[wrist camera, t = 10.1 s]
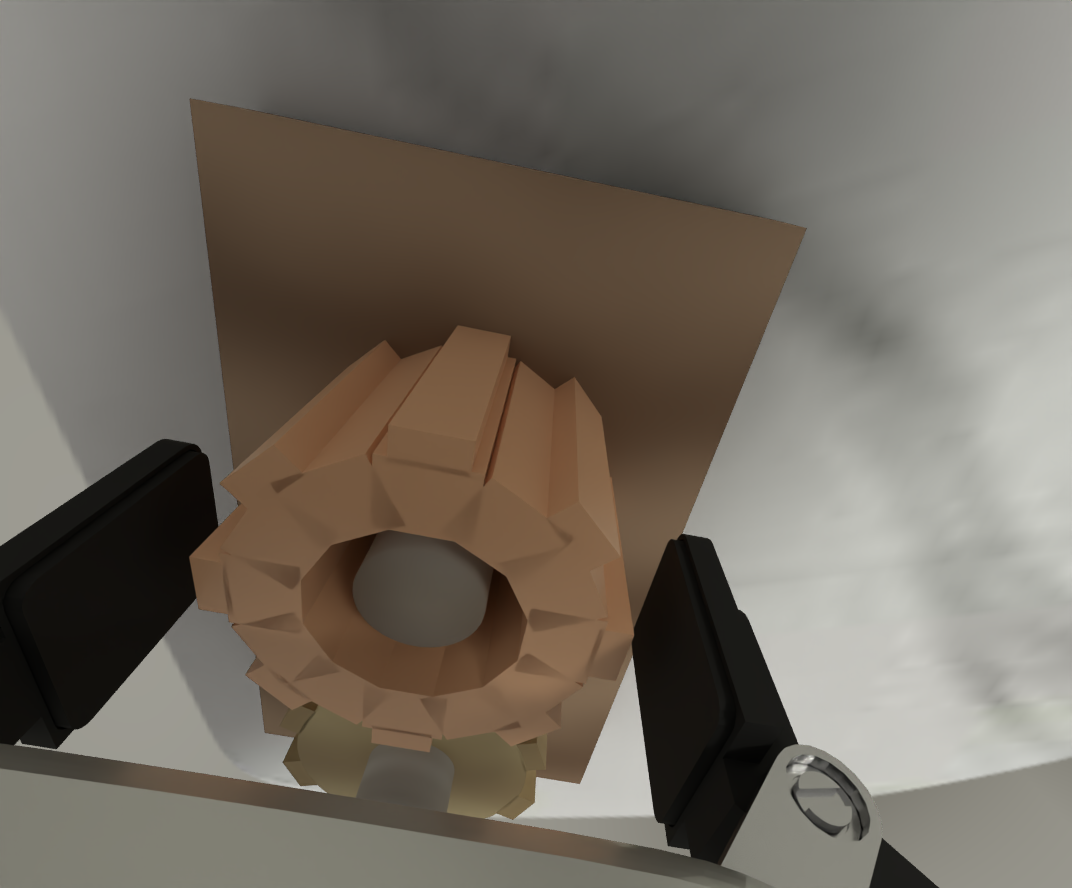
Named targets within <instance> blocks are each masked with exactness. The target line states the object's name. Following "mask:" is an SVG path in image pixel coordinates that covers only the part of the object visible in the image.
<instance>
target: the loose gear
mask: <svg viewBox="0 0 1072 888" xmlns="http://www.w3.org/2000/svg"><path fill="white" fill-rule="evenodd" d="M510 339H511V336H509V335H504V334H499V333H494V332H489V331H484V330H479V329H474V328H469V327H464V326H459V325H458V326H457V327H456V329H455V330H454V331H453V333H452V334H451V336H450V337H449V339H448V340H447V341H446V343H445V344H444V346H443V347H442V345H441V346H438V347H435V348H432V349H429V350H426V351H423V352H421V353H418V354H415V355H412V356H409V357H406V358H403V359H401V358H400V357H399V356H398V355H397V354H396V352H395V351H394V350H393V349H392V347H391V346H390V345H389V344H388V343H387V341H386V340H384V341H383V342H381V343H380V344H379V345H377V346H376V347H374V348H373V349H372V350H370V351H369V352H368V353H366V354H365V355H364V356H362V357H361V358H359V359H358V360H357V361H355V362H354V363H353V364H351V365H350V366H349V367H347V368H346V369H345V370H344V371H343V372H342V373H341V374H339V375H338V376H337V377H336V378H335V379H334V380H333V381H332V382H331V383H330V384H328V385H327V386H326V387H325V388H324V389H323V390H322V391H321V392H320V393H319V394H317V395H316V396H315V397H314V398H313V399H312V400H311V401H310V402H309V403H307V404H306V405H305V406H304V407H303V408H302V409H301V410H300V411H299V412H298V413H296V414H295V415H294V416H293V417H292V418H291V419H290V420H289V421H288V422H286V423H285V424H284V425H283V426H282V427H281V428H280V429H279V430H278V431H277V432H275V433H274V434H273V435H272V436H271V437H270V438H269V439H268V440H267V441H266V442H264V443H263V444H262V445H261V446H260V447H259V448H258V449H257V450H256V451H254V452H253V453H252V454H251V455H250V456H249V457H248V458H247V459H246V460H245V461H243V462H242V463H241V464H240V465H239V466H238V467H237V468H236V469H235V470H233V471H232V472H231V473H230V474H229V475H228V476H227V477H226V478H225V479H224V480H222V481H221V482H220V484H221V485H222V486H223V487H224V488H225V489H226V490H227V491H228V492H230V493H231V494H232V495H233V496H234V497H235V498H236V499H237V500H238V501H240V502H241V504H240V505H239V506H238V507H237V508H236V509H235V510H234V511H233V512H232V513H231V514H230V515H229V516H228V517H227V518H226V519H225V520H224V522H223V523H222V524H221V525H220V526H219V527H218V528H217V529H216V530H215V531H214V532H213V533H212V534H211V535H210V536H209V537H208V538H207V539H206V540H205V541H204V542H203V543H202V544H201V545H200V546H199V547H198V548H197V549H196V550H195V551H194V552H193V553H192V554H191V555H190V556H189V559H190V564H191V570H192V575H193V581H194V586H195V591H196V597H197V602H198V608H199V609H200V610H206V611H212V612H218V613H224V614H228V619H229V622H231V623H234V624H233V625H232V626H231V627H232V628H233V629H234V631H235V632H236V633H237V634H238V635H239V636H240V637H241V639H242V640H243V641H244V642H245V643H246V644H247V646H248V647H249V648H250V649H251V650H252V651H253V653H254V654H255V655H256V656H257V657H256V659H255V660H254V662H253V663H252V665H251V666H250V668H249V670H248V671H247V673H246V674H245V675H246V676H247V677H248V678H250V679H251V680H252V681H254V682H255V683H256V684H258V685H259V686H260V687H262V688H263V689H264V690H266V691H267V692H268V693H270V694H271V695H272V696H274V697H275V698H276V699H278V700H279V701H280V702H282V703H283V704H284V705H286V706H287V707H288V708H290V709H291V710H293V709H296V708H298V707H300V706H302V705H304V704H306V703H308V702H311V701H312V702H314V703H316V704H318V705H319V706H321V707H323V708H325V709H327V710H329V711H331V712H333V713H335V714H337V715H339V716H341V717H343V718H345V719H346V720H348V721H350V722H352V723H354V724H356V725H357V724H358V723H360V722H361V721H362V727H367V728H372V740H371V743H375V744H381V745H387V746H393V747H399V748H405V749H412V750H418V751H424V752H430V748H431V744H432V740H433V738H434V739H440V740H442V735H444V736H445V738H446V739H447V740H449V739H455V738H461V737H467V736H473V735H479V734H485V733H491V732H495V733H497V734H498V735H499V736H500V737H501V738H502V739H503V740H504V741H505V742H507V743H508V744H509V745H510V746H514V745H516V744H519V743H522V742H525V741H527V740H530V739H533V738H536V737H538V736H541V735H544V734H547V733H549V732H552V731H555V730H558V729H560V728H561V702H562V701H563V700H565V699H566V698H568V697H569V696H571V695H572V694H574V693H575V692H577V691H578V690H579V689H581V688H582V687H583V683H585V684H586V682H587V679H588V677H594V678H600V679H606V680H612V681H616V679H617V677H618V674H619V672H620V669H621V667H622V665H623V662H624V660H625V657H626V655H627V652H628V650H629V647H630V645H631V642H632V640H633V637H634V630H633V623H632V616H631V609H630V603H629V596H628V589H627V582H626V575H625V568H624V561H623V554H622V547H621V540H620V533H619V526H618V519H617V512H616V505H615V498H614V491H613V484H612V477H610V474H609V467H608V460H607V453H606V445H605V438H604V431H603V424H602V417H601V415H600V414H599V412H598V411H597V409H596V408H595V406H594V405H593V403H592V402H591V400H590V399H589V398H588V396H587V395H586V393H585V392H584V390H583V389H582V387H581V386H580V384H579V383H578V381H577V380H576V378H575V377H574V378H572V379H571V380H569V381H567V382H566V383H564V384H562V385H561V386H559V387H557V388H556V389H554V388H553V387H551V386H550V385H549V384H548V383H547V382H545V381H544V380H543V379H542V378H541V377H539V376H538V375H537V374H536V373H535V372H533V371H532V370H531V369H530V368H529V367H527V366H526V365H525V364H524V363H523V362H521V361H520V362H519V363H518V364H517V365H516V367H515V363H516V359H515V358H510V357H508V351H509V345H510ZM386 530H393V531H399V532H404V533H410V534H415V535H421V536H426V537H432V538H437V539H443V540H448V541H454V542H456V543H457V544H459V545H460V546H462V547H463V548H465V549H466V550H468V551H469V552H471V553H472V554H474V555H475V556H477V557H478V558H480V559H481V560H483V561H484V562H486V563H487V564H489V565H490V566H492V567H493V573H492V578H491V584H490V589H489V594H488V600H487V605H486V611H485V615H484V618H483V620H482V622H481V624H480V626H479V627H478V628H477V630H476V631H475V632H474V633H473V634H471V635H470V636H469V637H467V638H466V639H464V640H462V641H460V642H457V643H455V644H451V645H448V646H442V647H418V646H412V645H407V644H404V643H400V642H398V641H395V640H393V639H390V638H388V637H386V636H385V635H383V634H381V633H380V632H378V631H377V630H375V629H374V628H373V627H372V626H370V625H369V624H368V623H367V622H366V621H365V619H364V618H363V617H362V616H361V614H360V612H359V611H358V609H357V607H356V605H355V602H354V598H353V591H352V589H353V582H354V578H355V576H356V574H357V572H358V570H359V568H360V566H361V564H362V562H363V560H364V559H365V557H366V555H367V553H368V551H369V549H370V547H371V545H372V543H373V541H374V539H375V537H376V535H377V534H378V532H382V531H386Z"/></svg>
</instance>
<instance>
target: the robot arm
mask: <svg viewBox="0 0 1072 888" xmlns="http://www.w3.org/2000/svg"><path fill="white" fill-rule="evenodd" d="M217 528H218V520H217V513H216V506H215V500H214V493H213V486H212V479H211V472H210V465H209V460H208V457H207V455H206V454H204V453H202V452H201V449H200V448H199V447H198V446H197V445H195V444H191V443H186V442H180V441H175V440H169V439H162V440H160V441H157V442H156V443H154V444H153V445H151V446H150V447H148V448H147V449H145V450H144V451H142V452H141V453H139V454H138V455H136V456H135V457H133V458H132V459H130V460H129V461H127V462H126V463H124V464H123V465H121V466H120V467H118V468H117V469H115V470H114V471H112V472H111V473H109V474H108V475H106V476H105V477H103V478H102V479H100V480H99V481H97V482H96V483H94V484H93V485H91V486H90V487H88V488H87V489H85V490H84V491H83V492H81V493H79V494H78V495H76V496H75V497H73V498H72V499H70V500H69V501H67V502H66V503H64V504H63V505H61V506H60V507H58V508H57V509H55V510H54V511H53V512H51V513H49V514H48V515H46V516H45V517H44V518H42V519H40V520H39V521H37V522H36V523H34V524H33V525H31V526H30V527H28V528H27V529H25V530H24V531H22V532H21V533H19V534H18V535H16V536H15V537H13V538H12V539H10V540H9V541H7V542H6V543H4V544H3V545H2V546H0V888H939V887H938V886H936V885H935V884H934V883H933V882H932V881H931V880H929V879H928V878H927V877H926V876H925V875H924V874H923V873H921V872H920V871H919V870H918V869H917V868H916V867H915V866H913V865H912V864H911V863H910V862H909V861H908V860H907V859H905V858H904V857H903V856H902V855H901V854H900V853H898V852H897V851H896V850H895V849H894V848H893V847H892V846H891V845H889V844H888V843H887V842H886V841H885V840H884V839H883V838H882V822H881V819H880V815H879V812H878V808H877V806H876V804H875V802H874V800H873V799H872V797H871V795H870V793H869V791H868V790H867V788H866V787H865V786H864V785H863V783H862V782H861V781H860V780H859V779H858V777H857V776H856V775H855V774H854V773H853V772H852V771H851V770H850V769H849V768H848V767H846V766H845V765H844V764H843V763H842V762H841V761H839V760H838V759H836V758H835V757H833V756H831V755H830V754H828V753H827V752H825V751H823V750H820V749H817V748H815V747H812V746H809V745H799V744H798V742H797V739H796V737H795V734H794V732H793V729H792V727H791V724H790V722H789V719H788V717H787V714H786V712H785V709H784V707H783V704H782V702H781V699H780V697H779V694H778V692H777V690H776V687H775V685H774V682H773V680H772V677H771V675H770V672H769V670H768V667H767V665H766V662H765V660H764V657H763V655H762V652H761V650H760V647H759V645H758V642H757V640H756V637H755V635H754V632H753V630H752V627H751V625H750V622H749V620H748V618H747V616H746V615H745V614H744V613H743V612H742V611H741V610H738V608H737V605H736V603H735V600H734V598H733V595H732V592H731V590H730V587H729V585H728V582H727V580H726V577H725V574H724V572H723V569H722V567H721V564H720V561H719V559H718V556H717V554H716V551H715V549H714V546H713V543H712V542H711V540H710V539H708V538H703V537H697V536H692V535H686V534H681V535H680V536H679V537H678V538H677V540H674V539H670V540H669V541H668V543H667V545H666V548H665V551H664V553H663V556H662V558H661V561H660V563H659V566H658V568H657V571H656V573H655V576H654V578H653V581H652V583H651V586H650V588H649V591H648V594H647V596H646V599H645V601H644V604H643V606H642V609H641V611H640V614H639V616H638V619H637V621H636V624H635V626H634V629H633V630H634V637H633V640H632V653H633V660H634V668H635V675H636V683H637V690H638V698H639V705H640V713H641V720H642V727H643V735H644V742H645V750H646V757H647V765H648V772H649V779H650V787H651V794H652V802H653V809H654V815H655V818H656V820H657V822H658V823H664V824H665V830H666V837H667V843H668V846H671V847H677V848H683V849H690V854H691V857H688V856H684V855H680V854H675V853H671V852H667V851H663V850H659V849H654V848H648V847H643V846H638V845H632V844H627V843H622V842H616V841H611V840H605V839H600V838H594V837H588V836H583V835H577V834H572V833H567V832H561V831H556V830H550V829H544V828H538V827H532V826H526V825H519V824H513V823H507V822H501V821H495V820H489V819H483V818H477V817H471V816H465V815H459V814H452V813H446V812H440V811H434V810H428V809H422V808H416V807H410V806H404V805H398V804H391V803H385V802H379V801H372V800H366V799H360V798H354V797H347V796H341V795H335V794H328V793H322V792H316V791H310V790H303V789H297V788H291V787H284V786H278V785H272V784H265V783H258V782H253V781H246V780H239V779H233V778H227V777H220V776H214V775H208V774H202V773H195V772H188V771H182V770H175V769H169V768H162V767H156V766H149V765H142V764H136V763H130V762H123V761H117V760H110V759H103V758H97V757H90V756H83V755H77V754H70V753H64V752H57V751H51V750H44V749H37V748H30V747H22V746H14V745H15V744H16V742H17V741H18V740H19V739H20V740H21V742H22V744H27V745H33V746H40V747H47V748H52V749H57V748H58V747H59V746H60V745H61V744H62V743H63V741H64V740H65V739H66V738H67V737H68V736H69V735H70V733H71V732H72V731H73V730H74V729H80V728H82V727H83V726H85V725H86V724H88V723H89V722H90V720H92V719H93V717H94V716H95V715H96V714H97V713H98V712H99V710H100V709H101V708H102V707H103V706H104V705H105V703H106V702H107V701H108V700H109V699H110V697H111V696H112V695H113V694H114V693H115V691H117V690H118V688H119V687H120V686H121V685H122V684H123V683H124V681H125V680H126V679H127V678H128V677H129V676H130V674H131V673H132V672H133V671H134V670H135V669H136V667H137V666H138V665H139V664H140V663H141V662H142V661H143V659H144V658H145V657H146V656H147V655H148V654H149V652H150V651H151V650H152V649H153V648H154V647H155V645H156V644H157V643H158V642H159V641H160V640H161V639H162V637H163V636H164V635H165V634H166V633H167V632H168V630H169V629H170V628H171V627H172V626H173V625H174V623H175V622H176V621H177V620H178V619H179V618H180V617H181V615H182V614H183V613H184V612H185V611H186V610H187V608H188V607H189V606H190V605H191V604H192V603H193V601H194V600H195V599H196V598H197V597H196V591H195V586H194V581H193V575H192V570H191V564H190V559H189V556H190V555H191V554H192V553H193V552H194V551H195V550H196V549H197V548H198V547H199V546H200V545H201V544H202V543H203V542H204V541H205V540H206V539H207V538H208V537H209V536H210V535H211V534H212V533H213V532H214V531H215V530H216V529H217Z"/></svg>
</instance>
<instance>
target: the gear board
mask: <svg viewBox="0 0 1072 888" xmlns="http://www.w3.org/2000/svg"><path fill="white" fill-rule="evenodd" d="M190 106H191V115H192V123H193V132H194V140H195V148H196V157H197V165H198V174H199V182H200V191H201V199H202V207H203V216H204V224H205V233H206V241H207V250H208V258H209V266H210V275H211V283H212V292H213V300H214V309H215V317H216V325H217V334H218V342H219V351H220V359H221V368H222V376H223V384H224V393H225V401H226V410H227V418H228V427H229V435H230V443H231V452H232V460H233V469H234V470H235V469H236V468H237V467H238V466H239V465H240V464H241V463H242V462H243V461H245V460H246V459H247V458H248V457H249V456H250V455H251V454H252V453H253V452H254V451H256V450H257V449H258V448H259V447H260V446H261V445H262V444H263V443H264V442H266V441H267V440H268V439H269V438H270V437H271V436H272V435H273V434H274V433H275V432H277V431H278V430H279V429H280V428H281V427H282V426H283V425H284V424H285V423H286V422H288V421H289V420H290V419H291V418H292V417H293V416H294V415H295V414H296V413H298V412H299V411H300V410H301V409H302V408H303V407H304V406H305V405H306V404H307V403H309V402H310V401H311V400H312V399H313V398H314V397H315V396H316V395H317V394H319V393H320V392H321V391H322V390H323V389H324V388H325V387H326V386H327V385H328V384H330V383H331V382H332V381H333V380H334V379H335V378H336V377H337V376H338V375H339V374H341V373H342V372H343V371H344V370H345V369H346V368H347V367H349V366H350V365H351V364H353V363H354V362H355V361H357V360H358V359H359V358H361V357H362V356H364V355H365V354H366V353H368V352H369V351H370V350H372V349H373V348H374V347H376V346H377V345H379V344H380V343H381V342H383V341H384V340H386V341H387V343H388V344H389V345H390V346H391V347H392V349H393V350H394V351H395V352H396V354H397V355H398V356H399V357H400V358H401V359H403V358H406V357H409V356H412V355H415V354H418V353H421V352H423V351H426V350H429V349H432V348H435V347H438V346H441V345H442V347H443V346H444V344H445V343H446V341H447V340H448V339H449V337H450V336H451V334H452V333H453V331H454V330H455V329H456V327H457V326H458V325H459V326H464V327H469V328H474V329H479V330H484V331H489V332H494V333H499V334H504V335H509V336H511V339H510V345H509V351H508V357H510V358H515V359H516V363H515V367H516V365H517V364H518V363H519V362H520V361H521V362H523V363H524V364H525V365H526V366H527V367H529V368H530V369H531V370H532V371H533V372H535V373H536V374H537V375H538V376H539V377H541V378H542V379H543V380H544V381H545V382H547V383H548V384H549V385H550V386H551V387H553V388H554V389H556V388H557V387H559V386H561V385H562V384H564V383H566V382H567V381H569V380H571V379H572V378H574V377H575V378H576V380H577V381H578V383H579V384H580V386H581V387H582V389H583V390H584V392H585V393H586V395H587V396H588V398H589V399H590V400H591V402H592V403H593V405H594V406H595V408H596V409H597V411H598V412H599V414H600V415H601V417H602V424H603V431H604V438H605V445H606V453H607V460H608V467H609V474H610V477H612V484H613V491H614V498H615V505H616V512H617V519H618V526H619V533H620V540H621V547H622V554H623V561H624V568H625V575H626V582H627V589H628V596H629V603H630V609H631V616H632V623H633V629H634V626H635V624H636V621H637V619H638V616H639V614H640V611H641V609H642V606H643V604H644V601H645V599H646V596H647V594H648V591H649V588H650V586H651V583H652V581H653V578H654V576H655V573H656V571H657V568H658V566H659V563H660V561H661V558H662V556H663V553H664V551H665V548H666V545H667V543H668V541H669V540H670V539H674V540H677V538H678V537H679V536H680V535H681V534H682V533H683V530H684V528H685V525H686V523H687V520H688V518H689V515H690V513H691V511H692V508H693V506H694V503H695V501H696V498H697V496H698V493H699V491H700V488H701V486H702V484H703V481H704V479H705V476H706V474H707V471H708V469H709V466H710V464H711V462H712V459H713V457H714V454H715V452H716V449H717V447H718V444H719V442H720V439H721V437H722V435H723V432H724V430H725V427H726V425H727V422H728V420H729V417H730V415H731V413H732V410H733V408H734V405H735V403H736V400H737V398H738V395H739V393H740V390H741V388H742V386H743V383H744V381H745V378H746V376H747V373H748V371H749V368H750V366H751V364H752V361H753V359H754V356H755V354H756V351H757V349H758V346H759V344H760V342H761V339H762V337H763V334H764V332H765V329H766V327H767V324H768V322H769V319H770V317H771V315H772V312H773V310H774V307H775V305H776V302H777V300H778V297H779V295H780V293H781V290H782V288H783V285H784V283H785V280H786V278H787V275H788V273H789V270H790V268H791V266H792V263H793V261H794V258H795V256H796V253H797V251H798V248H799V246H800V244H801V241H802V239H803V236H804V234H805V231H806V229H807V228H804V227H800V226H796V225H792V224H788V223H784V222H780V221H776V220H772V219H767V218H763V217H758V216H753V215H748V214H744V213H739V212H734V211H729V210H725V209H720V208H715V207H710V206H706V205H701V204H696V203H691V202H687V201H682V200H677V199H672V198H668V197H663V196H658V195H653V194H649V193H644V192H639V191H634V190H630V189H625V188H620V187H615V186H611V185H606V184H601V183H596V182H592V181H587V180H582V179H577V178H573V177H568V176H563V175H558V174H554V173H549V172H544V171H539V170H535V169H530V168H525V167H520V166H516V165H511V164H506V163H501V162H497V161H492V160H487V159H482V158H478V157H473V156H468V155H463V154H459V153H454V152H449V151H444V150H440V149H435V148H430V147H425V146H421V145H416V144H411V143H406V142H402V141H397V140H392V139H387V138H383V137H378V136H373V135H368V134H364V133H359V132H354V131H349V130H345V129H340V128H335V127H330V126H326V125H321V124H316V123H311V122H307V121H302V120H297V119H292V118H287V117H283V116H278V115H273V114H268V113H264V112H259V111H254V110H249V109H244V108H239V107H233V106H228V105H223V104H217V103H212V102H206V101H201V100H196V99H190ZM237 503H238V506H239V505H240V504H241V502H240V501H238V500H237ZM492 573H493V567H492V566H490V565H489V564H487V563H486V562H484V561H483V560H481V559H480V558H478V557H477V556H475V555H474V554H472V553H471V552H469V551H468V550H466V549H465V548H463V547H462V546H460V545H459V544H457V543H456V542H454V541H448V540H443V539H437V538H432V537H426V536H421V535H415V534H410V533H404V532H399V531H393V530H386V531H382V532H378V534H377V535H376V537H375V539H374V541H373V543H372V545H371V547H370V549H369V551H368V553H367V555H366V557H365V559H364V560H363V562H362V564H361V566H360V568H359V570H358V572H357V574H356V576H355V578H354V582H353V589H352V591H353V598H354V602H355V605H356V607H357V609H358V611H359V612H360V614H361V616H362V617H363V618H364V619H365V621H366V622H367V623H368V624H369V625H370V626H372V627H373V628H374V629H375V630H377V631H378V632H380V633H381V634H383V635H385V636H386V637H388V638H390V639H393V640H395V641H398V642H400V643H404V644H407V645H412V646H418V647H442V646H448V645H451V644H455V643H457V642H460V641H462V640H464V639H466V638H467V637H469V636H470V635H471V634H473V633H474V632H475V631H476V630H477V628H478V627H479V626H480V624H481V622H482V620H483V618H484V615H485V611H486V605H487V600H488V594H489V589H490V584H491V578H492ZM632 655H633V653H632V642H631V645H630V647H629V650H628V652H627V655H626V657H625V660H624V662H623V665H622V667H621V669H620V672H619V674H618V677H617V679H616V681H612V680H606V679H600V678H594V677H588V679H587V682H586V684H585V683H583V687H582V688H581V689H579V690H578V691H577V692H575V693H574V694H572V695H571V696H569V697H568V698H566V699H565V700H563V701H562V702H561V728H560V729H558V730H555V731H552V732H549V733H547V734H544V735H541V736H538V737H536V738H533V739H530V740H527V741H525V742H522V743H519V744H516V745H514V746H510V745H509V744H508V743H507V742H505V741H504V740H503V739H502V738H501V737H500V736H499V735H498V734H497V733H495V732H491V733H485V734H479V735H473V736H467V737H461V738H455V739H449V740H447V739H446V738H445V736H444V735H442V740H440V739H434V738H433V740H432V744H431V748H430V752H424V751H418V750H412V749H405V748H399V747H393V746H387V745H381V744H375V743H371V740H372V728H367V727H362V721H361V722H360V723H358V724H357V725H356V724H354V723H352V722H350V721H348V720H346V719H345V718H343V717H341V716H339V715H337V714H335V713H333V712H331V711H329V710H327V709H325V708H323V707H321V706H319V705H318V704H316V703H314V702H312V701H311V702H308V703H306V704H304V705H302V706H300V707H298V708H296V709H293V710H291V709H290V708H288V707H287V706H286V705H284V704H283V703H282V702H280V701H279V700H278V699H276V698H275V697H274V696H272V695H271V694H270V693H268V692H267V691H266V690H264V689H263V688H262V687H260V686H259V688H260V696H261V705H262V713H263V722H264V730H265V733H269V734H276V735H282V736H288V737H294V740H293V742H292V744H291V746H290V748H289V750H288V752H287V754H286V756H285V759H284V761H283V763H284V765H285V766H286V767H287V769H288V770H289V771H290V773H291V774H292V776H293V777H294V778H295V780H296V781H297V782H298V784H299V785H300V786H308V785H318V786H319V787H321V788H322V789H323V790H324V791H325V792H327V793H328V794H335V795H341V796H347V797H354V798H360V799H366V800H372V801H379V802H385V803H391V804H398V805H404V806H410V807H416V808H422V809H428V810H434V811H440V812H446V813H452V814H459V815H465V816H471V817H477V818H483V819H485V818H488V817H490V816H493V815H495V814H496V813H497V814H500V815H502V816H505V817H507V818H510V819H512V820H513V819H514V818H516V817H517V816H518V815H520V814H521V813H522V812H523V811H525V810H526V809H527V808H528V807H530V806H531V805H532V804H533V803H535V784H536V777H540V778H547V779H553V780H559V781H565V782H571V783H577V784H580V782H581V780H582V778H583V775H584V773H585V770H586V768H587V765H588V763H589V760H590V758H591V755H592V753H593V751H594V748H595V746H596V743H597V741H598V738H599V736H600V733H601V731H602V729H603V726H604V724H605V721H606V719H607V716H608V714H609V711H610V709H611V706H612V704H613V702H614V699H615V697H616V694H617V692H618V689H619V687H620V684H621V682H622V680H623V677H624V675H625V672H626V670H627V667H628V665H629V662H630V660H631V657H632ZM256 657H257V656H256Z"/></svg>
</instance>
